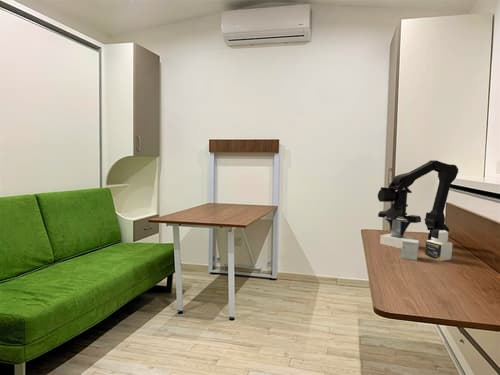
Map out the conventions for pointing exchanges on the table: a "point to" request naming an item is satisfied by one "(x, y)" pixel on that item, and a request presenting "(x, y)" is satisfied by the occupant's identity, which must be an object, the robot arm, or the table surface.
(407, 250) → the product box
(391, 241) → the socket block
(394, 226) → the peg
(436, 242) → the medicine bottle
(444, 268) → the table surface
